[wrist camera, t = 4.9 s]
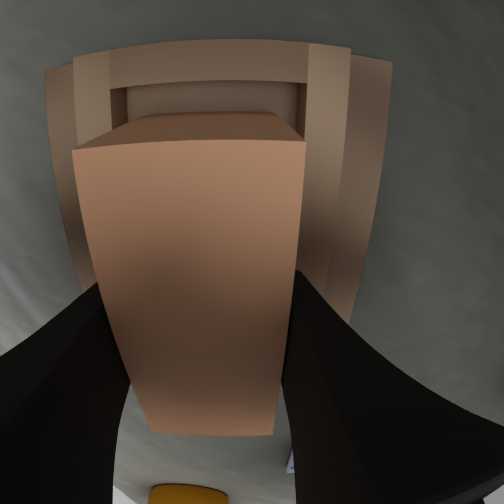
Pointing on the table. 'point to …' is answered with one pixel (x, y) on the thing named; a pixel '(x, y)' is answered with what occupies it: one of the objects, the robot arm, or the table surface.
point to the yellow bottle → (185, 495)
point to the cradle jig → (243, 100)
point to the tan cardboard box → (197, 261)
